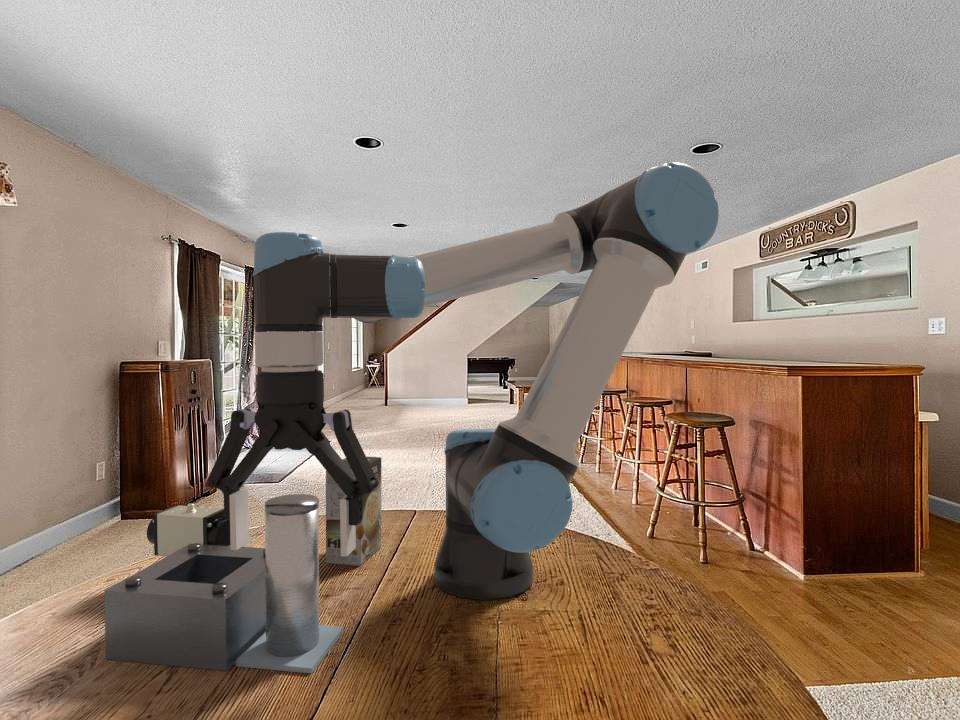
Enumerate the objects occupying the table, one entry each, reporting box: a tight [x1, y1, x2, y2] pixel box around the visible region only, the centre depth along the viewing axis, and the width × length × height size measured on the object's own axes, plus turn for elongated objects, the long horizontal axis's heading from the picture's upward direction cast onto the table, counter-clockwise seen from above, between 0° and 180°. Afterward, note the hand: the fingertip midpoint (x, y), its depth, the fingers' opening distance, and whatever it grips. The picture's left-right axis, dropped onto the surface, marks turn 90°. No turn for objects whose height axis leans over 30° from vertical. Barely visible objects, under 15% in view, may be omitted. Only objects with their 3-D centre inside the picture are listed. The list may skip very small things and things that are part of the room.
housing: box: [103, 543, 266, 672], centre depth 71 cm, size 15×15×9 cm
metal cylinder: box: [264, 493, 320, 657], centre depth 67 cm, size 6×6×17 cm
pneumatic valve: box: [146, 502, 231, 557], centre depth 85 cm, size 6×12×12 cm, turn 78°
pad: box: [235, 624, 345, 675], centre depth 67 cm, size 9×9×1 cm
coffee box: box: [325, 456, 383, 567], centre depth 96 cm, size 9×6×16 cm
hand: (293, 549), depth 67 cm, fingers open, 13 cm apart
